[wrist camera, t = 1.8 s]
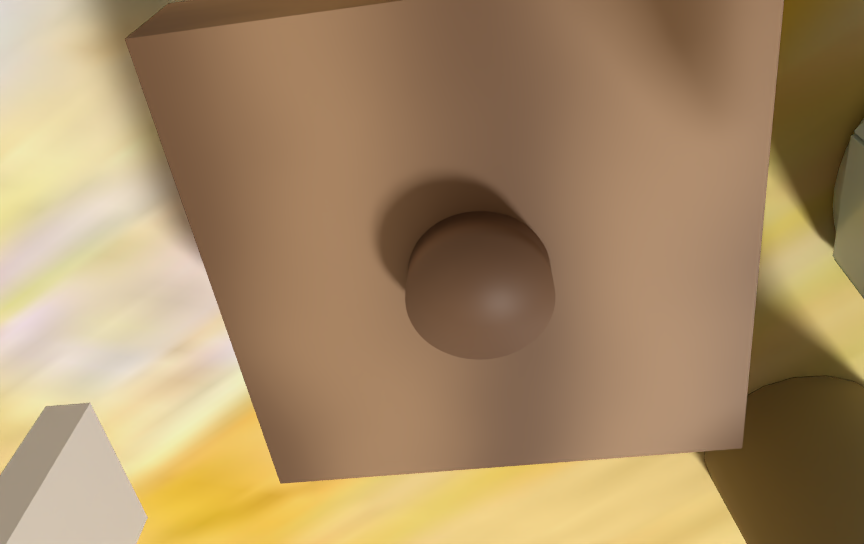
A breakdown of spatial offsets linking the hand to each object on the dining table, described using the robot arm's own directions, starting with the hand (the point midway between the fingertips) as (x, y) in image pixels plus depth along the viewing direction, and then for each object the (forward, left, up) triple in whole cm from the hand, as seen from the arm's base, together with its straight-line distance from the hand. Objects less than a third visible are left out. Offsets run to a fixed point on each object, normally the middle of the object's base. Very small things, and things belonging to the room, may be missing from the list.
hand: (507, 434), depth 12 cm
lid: (0, 0, -7) cm, 7 cm away
